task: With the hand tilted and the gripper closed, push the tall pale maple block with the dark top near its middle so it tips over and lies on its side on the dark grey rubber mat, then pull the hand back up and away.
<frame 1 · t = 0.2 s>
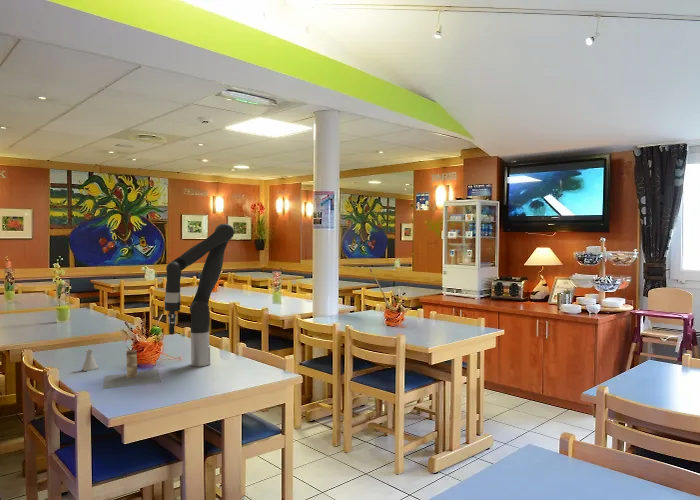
hand: (171, 333, 260), 18 cm above the table, tool pointing down, fingers open, 8 cm apart
maple block: (132, 375, 245), resting on rubber mat
rubber mat: (132, 379, 240), on the table
flask: (90, 370, 258), on the table
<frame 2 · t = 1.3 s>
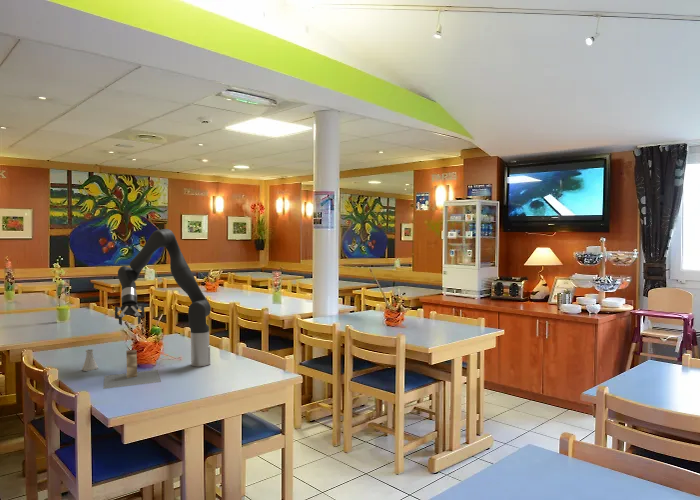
hand: (130, 323, 258), 23 cm above the table, tool tilted 45°, fingers open, 7 cm apart
nothing on the table moved.
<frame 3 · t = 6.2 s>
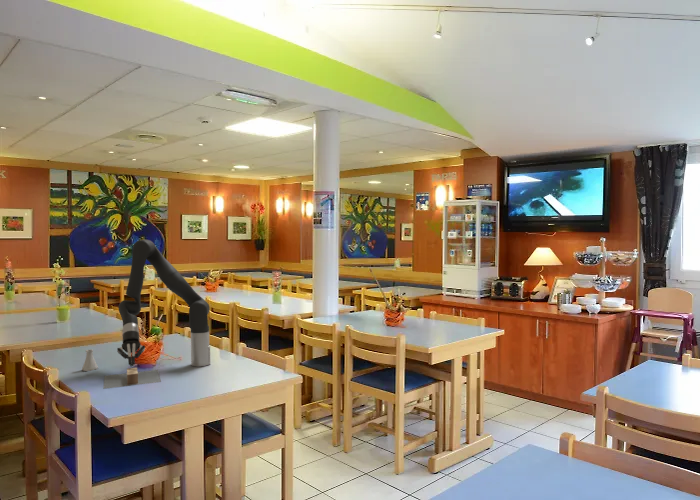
hand: (131, 364, 243), 6 cm above the table, tool tilted 45°, fingers closed
maple block: (132, 372, 243), point 3 cm above the table, tilted 90°, touching rubber mat
everything else where it was.
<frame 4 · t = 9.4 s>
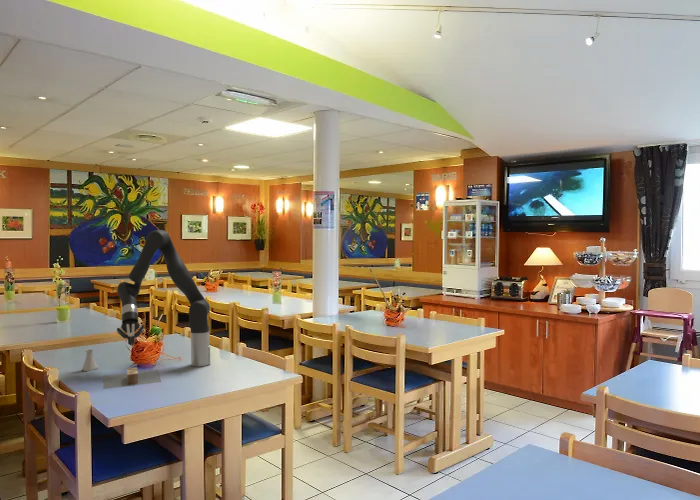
hand: (131, 344, 246), 15 cm above the table, tool tilted 45°, fingers closed
nothing on the table moved.
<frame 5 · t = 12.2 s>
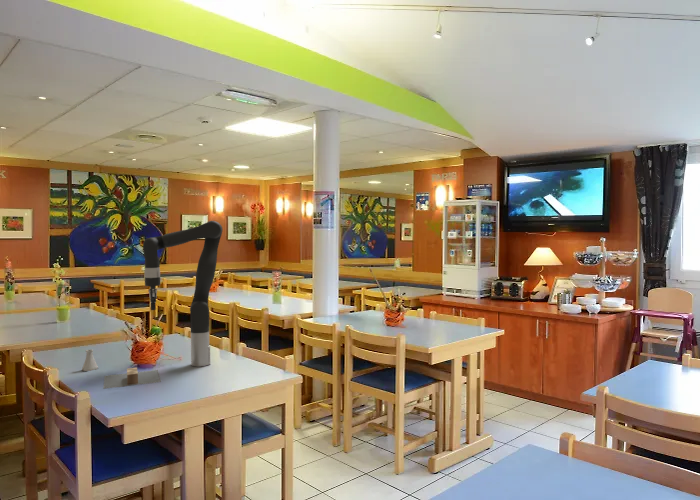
hand: (153, 309, 264), 29 cm above the table, tool pointing down, fingers closed
nothing on the table moved.
at the end: maple block tilted 90°; maple block inside the target area (2.7 cm from its centre), point 2.6 cm above the table; the gripper is holding nothing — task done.
